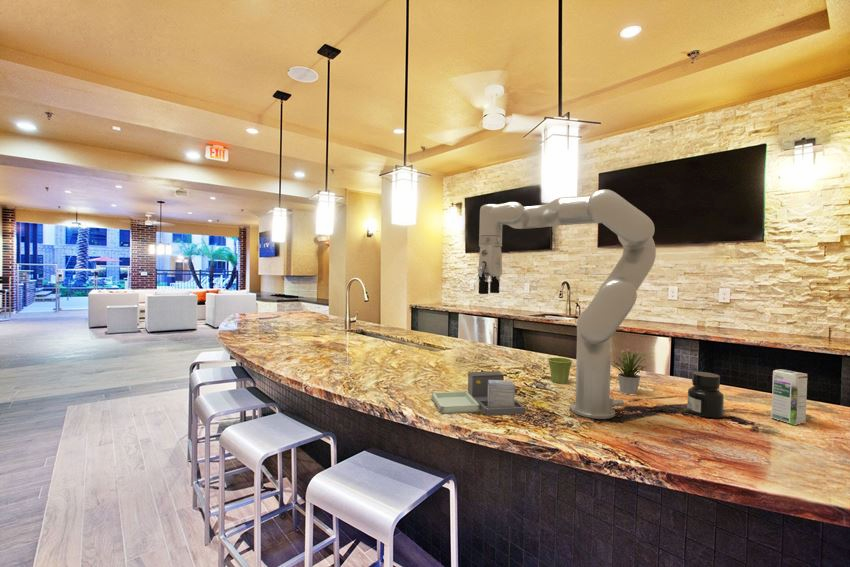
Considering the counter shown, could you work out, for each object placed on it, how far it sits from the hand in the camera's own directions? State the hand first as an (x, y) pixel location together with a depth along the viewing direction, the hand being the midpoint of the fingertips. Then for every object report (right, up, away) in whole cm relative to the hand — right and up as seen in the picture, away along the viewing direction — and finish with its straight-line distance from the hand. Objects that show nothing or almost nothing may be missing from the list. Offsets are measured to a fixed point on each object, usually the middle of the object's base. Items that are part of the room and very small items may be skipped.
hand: (489, 293), depth 129 cm
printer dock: (+1, -35, -4) cm, 36 cm away
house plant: (+52, -36, +8) cm, 64 cm away
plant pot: (+31, -35, +22) cm, 52 cm away
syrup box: (+84, -37, -17) cm, 93 cm away
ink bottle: (+64, -37, -11) cm, 74 cm away
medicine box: (+2, -36, -10) cm, 37 cm away
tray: (-12, -35, -7) cm, 38 cm away
